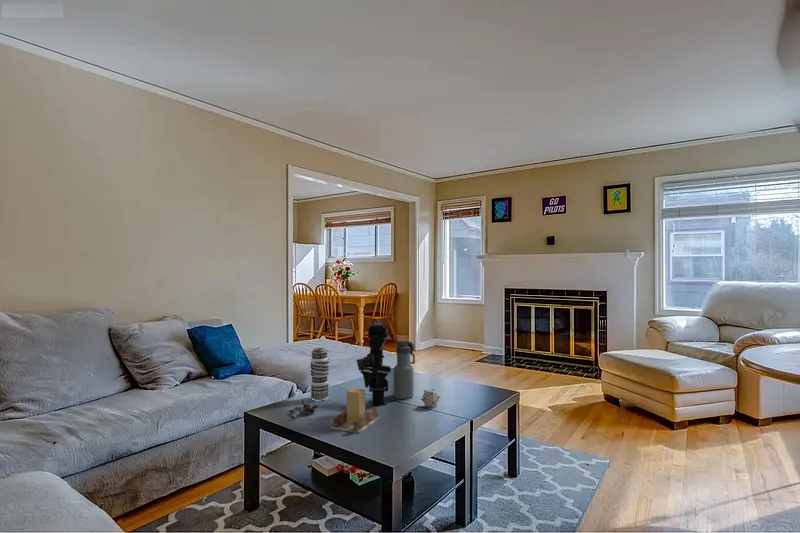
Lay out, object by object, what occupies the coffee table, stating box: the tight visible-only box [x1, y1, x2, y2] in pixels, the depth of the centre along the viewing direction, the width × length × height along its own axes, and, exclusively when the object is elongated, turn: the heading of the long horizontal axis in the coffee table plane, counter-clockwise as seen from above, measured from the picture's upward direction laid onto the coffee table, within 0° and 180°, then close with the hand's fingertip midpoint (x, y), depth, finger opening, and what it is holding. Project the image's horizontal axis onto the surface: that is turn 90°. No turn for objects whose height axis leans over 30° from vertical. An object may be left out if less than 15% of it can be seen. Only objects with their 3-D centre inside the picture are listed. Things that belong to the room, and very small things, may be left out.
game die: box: [419, 388, 441, 409], centre depth 201 cm, size 9×8×10 cm
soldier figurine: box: [288, 400, 318, 419], centre depth 190 cm, size 8×11×12 cm
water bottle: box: [393, 339, 416, 400], centre depth 218 cm, size 10×10×28 cm
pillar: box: [346, 387, 366, 424], centre depth 180 cm, size 5×6×13 cm
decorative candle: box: [309, 347, 330, 400], centre depth 215 cm, size 9×9×25 cm
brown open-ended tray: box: [330, 406, 380, 434], centre depth 180 cm, size 18×13×5 cm
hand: (371, 388), depth 190 cm, fingers open, 9 cm apart
